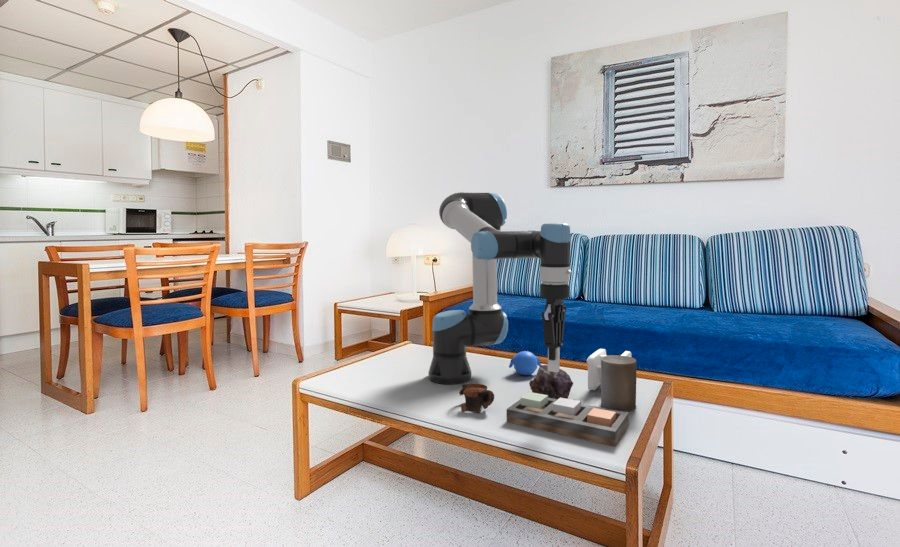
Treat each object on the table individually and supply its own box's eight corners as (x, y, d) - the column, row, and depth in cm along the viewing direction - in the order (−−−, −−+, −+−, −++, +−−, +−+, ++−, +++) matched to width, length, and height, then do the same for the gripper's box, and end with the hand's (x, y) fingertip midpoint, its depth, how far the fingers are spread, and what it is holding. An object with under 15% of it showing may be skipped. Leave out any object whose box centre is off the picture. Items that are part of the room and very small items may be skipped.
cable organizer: (620, 398, 140) (621, 360, 139) (585, 392, 146) (585, 356, 145) (631, 385, 152) (632, 350, 151) (599, 379, 158) (599, 346, 157)
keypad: (506, 421, 123) (506, 409, 123) (527, 405, 135) (527, 393, 135) (615, 446, 108) (615, 431, 108) (628, 425, 119) (628, 412, 119)
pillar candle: (643, 406, 133) (643, 355, 132) (622, 414, 127) (623, 360, 126) (613, 397, 141) (614, 349, 139) (593, 404, 135) (593, 354, 134)
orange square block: (587, 422, 115) (587, 414, 115) (593, 415, 120) (593, 407, 120) (610, 427, 112) (610, 419, 112) (615, 419, 117) (616, 411, 117)
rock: (558, 409, 135) (577, 399, 142) (562, 381, 133) (581, 372, 140) (524, 393, 144) (544, 384, 151) (528, 366, 142) (547, 359, 149)
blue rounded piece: (535, 368, 174) (535, 345, 173) (545, 377, 162) (545, 353, 161) (503, 369, 172) (503, 347, 172) (511, 379, 160) (511, 355, 160)
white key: (552, 411, 120) (552, 403, 120) (560, 404, 125) (560, 397, 125) (573, 415, 117) (573, 407, 117) (580, 408, 122) (580, 401, 122)
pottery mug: (451, 412, 132) (453, 383, 136) (471, 417, 139) (472, 390, 142) (485, 410, 125) (486, 379, 129) (504, 416, 131) (505, 387, 135)
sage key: (520, 404, 125) (520, 397, 125) (529, 398, 130) (529, 391, 130) (540, 408, 122) (540, 401, 122) (548, 402, 127) (548, 395, 127)
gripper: (560, 286, 113) (559, 380, 115) (576, 281, 124) (574, 366, 126) (531, 284, 117) (530, 375, 119) (549, 279, 128) (548, 362, 130)
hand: (553, 370), depth 123 cm, fingers closed
